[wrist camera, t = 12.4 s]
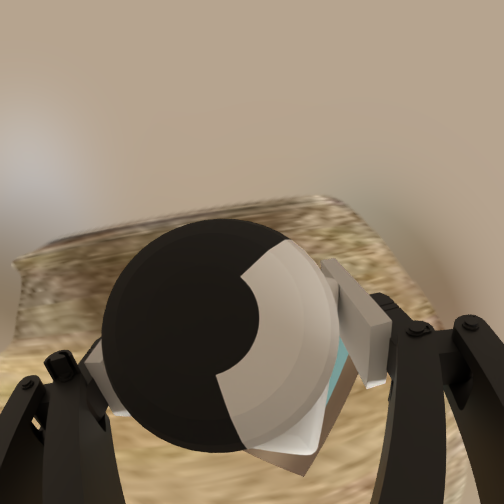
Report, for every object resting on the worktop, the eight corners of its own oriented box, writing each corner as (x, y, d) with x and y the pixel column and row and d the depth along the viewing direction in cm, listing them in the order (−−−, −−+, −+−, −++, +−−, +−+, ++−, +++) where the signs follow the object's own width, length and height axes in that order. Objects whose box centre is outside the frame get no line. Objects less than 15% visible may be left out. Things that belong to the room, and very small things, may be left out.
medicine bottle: (187, 411, 15) (45, 414, 5) (210, 305, 19) (124, 182, 8) (303, 433, 14) (343, 504, 4) (320, 321, 17) (370, 199, 7)
